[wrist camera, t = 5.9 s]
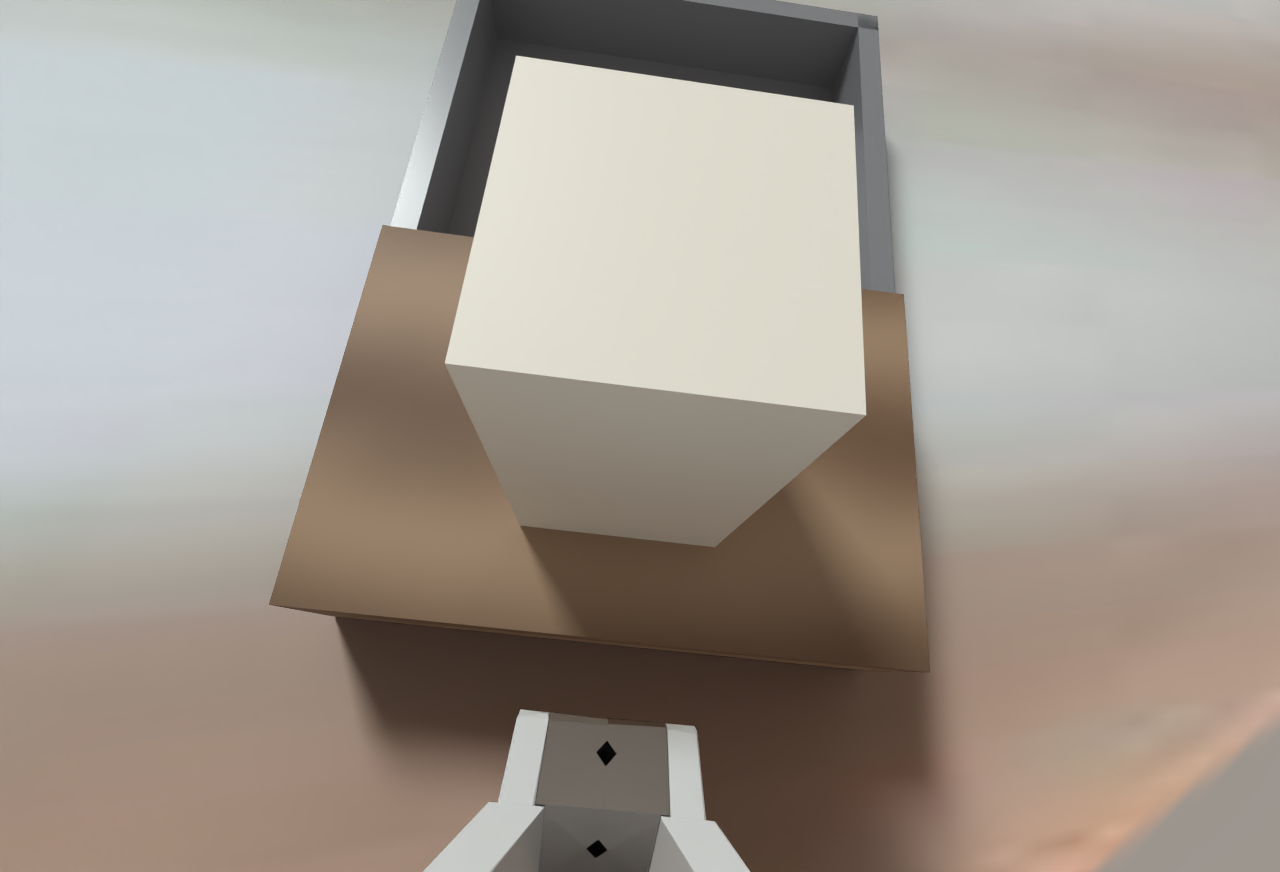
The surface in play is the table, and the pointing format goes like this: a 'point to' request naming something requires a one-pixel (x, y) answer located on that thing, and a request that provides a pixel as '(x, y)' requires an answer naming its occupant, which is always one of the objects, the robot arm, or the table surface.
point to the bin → (651, 45)
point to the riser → (583, 562)
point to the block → (660, 300)
